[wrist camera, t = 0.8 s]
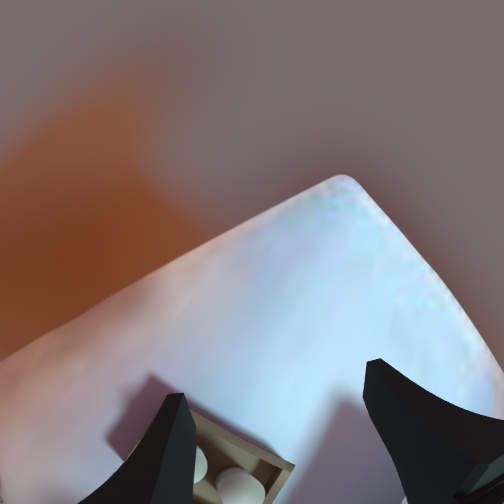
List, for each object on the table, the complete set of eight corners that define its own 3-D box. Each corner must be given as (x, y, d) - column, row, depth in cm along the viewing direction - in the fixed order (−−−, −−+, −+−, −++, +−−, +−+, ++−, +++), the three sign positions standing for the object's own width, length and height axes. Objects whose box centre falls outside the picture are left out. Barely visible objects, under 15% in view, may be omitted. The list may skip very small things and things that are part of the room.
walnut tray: (242, 526, 21) (256, 549, 15) (125, 463, 22) (111, 475, 17) (285, 461, 25) (308, 469, 20) (171, 397, 26) (168, 393, 21)
